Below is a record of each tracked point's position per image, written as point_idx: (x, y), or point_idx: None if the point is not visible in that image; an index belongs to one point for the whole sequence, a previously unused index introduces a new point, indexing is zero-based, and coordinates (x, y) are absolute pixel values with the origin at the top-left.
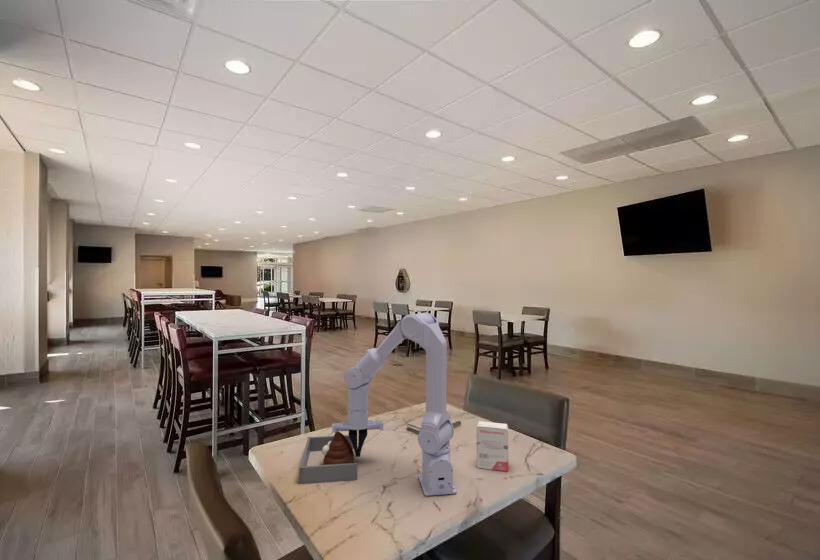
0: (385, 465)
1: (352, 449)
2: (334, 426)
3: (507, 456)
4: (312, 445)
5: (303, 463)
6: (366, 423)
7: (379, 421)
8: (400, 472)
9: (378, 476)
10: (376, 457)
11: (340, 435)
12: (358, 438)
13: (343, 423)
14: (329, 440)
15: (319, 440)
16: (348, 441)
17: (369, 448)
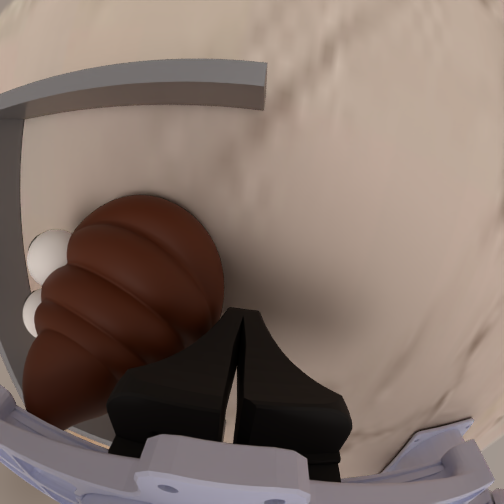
0: (368, 364)
1: (201, 332)
2: (2, 459)
3: None
4: (11, 117)
5: (20, 388)
6: None
7: (471, 492)
8: (390, 410)
9: None
10: (362, 279)
11: (72, 424)
12: (241, 390)
13: (26, 451)
14: (60, 100)
15: (15, 108)
16: (152, 357)
17: (354, 137)
